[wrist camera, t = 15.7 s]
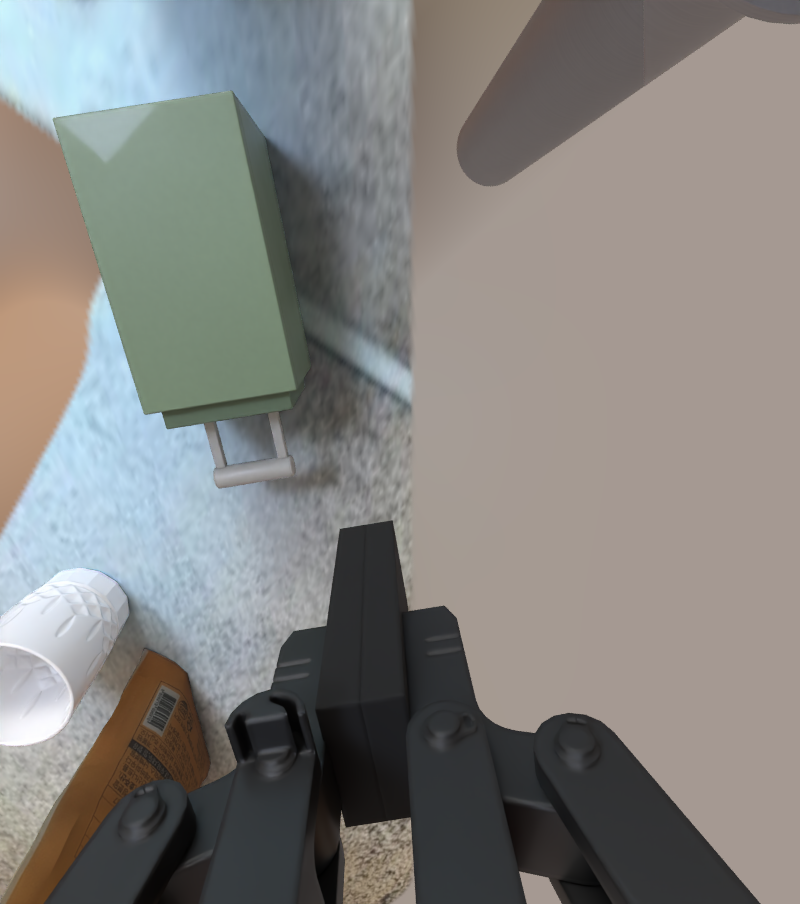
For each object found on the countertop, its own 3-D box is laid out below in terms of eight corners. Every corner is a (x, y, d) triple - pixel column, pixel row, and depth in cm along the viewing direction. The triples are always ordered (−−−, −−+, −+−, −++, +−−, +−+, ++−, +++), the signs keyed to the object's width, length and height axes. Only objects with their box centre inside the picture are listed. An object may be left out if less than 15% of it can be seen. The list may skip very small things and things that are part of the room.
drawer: (319, 452, 39) (309, 486, 33) (218, 468, 39) (189, 506, 33) (261, 175, 33) (236, 150, 27) (143, 193, 33) (89, 173, 27)
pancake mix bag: (197, 626, 44) (-61, 1157, 17) (240, 799, 50) (98, 1394, 23) (113, 636, 44) (-276, 1189, 17) (167, 809, 50) (-60, 1420, 23)
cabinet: (311, 366, 38) (296, 390, 30) (191, 386, 38) (144, 415, 30) (264, 136, 34) (232, 89, 25) (128, 157, 33) (51, 117, 25)
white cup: (118, 551, 41) (44, 632, 32) (151, 635, 44) (91, 734, 34) (17, 570, 41) (-86, 657, 32) (56, 654, 44) (-29, 757, 34)
